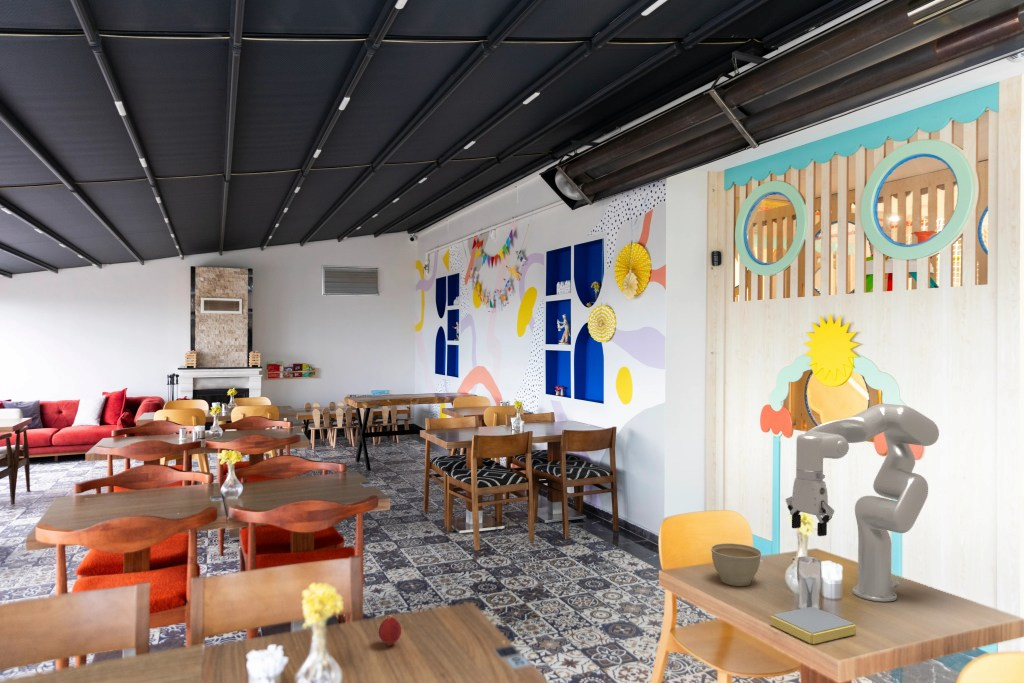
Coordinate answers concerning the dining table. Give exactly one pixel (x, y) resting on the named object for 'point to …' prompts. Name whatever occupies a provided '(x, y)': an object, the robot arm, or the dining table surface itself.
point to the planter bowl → (736, 563)
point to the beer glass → (809, 581)
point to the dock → (813, 625)
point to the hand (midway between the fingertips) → (808, 531)
